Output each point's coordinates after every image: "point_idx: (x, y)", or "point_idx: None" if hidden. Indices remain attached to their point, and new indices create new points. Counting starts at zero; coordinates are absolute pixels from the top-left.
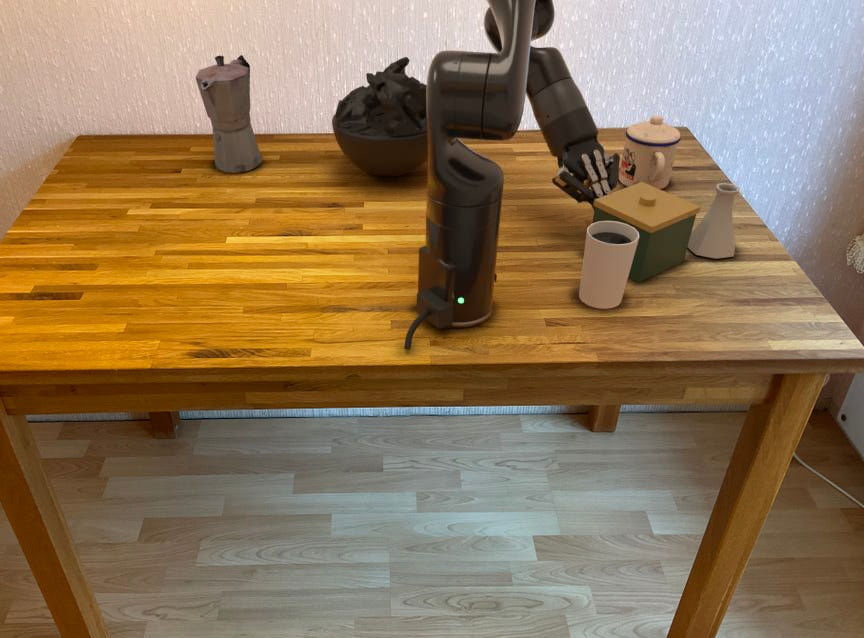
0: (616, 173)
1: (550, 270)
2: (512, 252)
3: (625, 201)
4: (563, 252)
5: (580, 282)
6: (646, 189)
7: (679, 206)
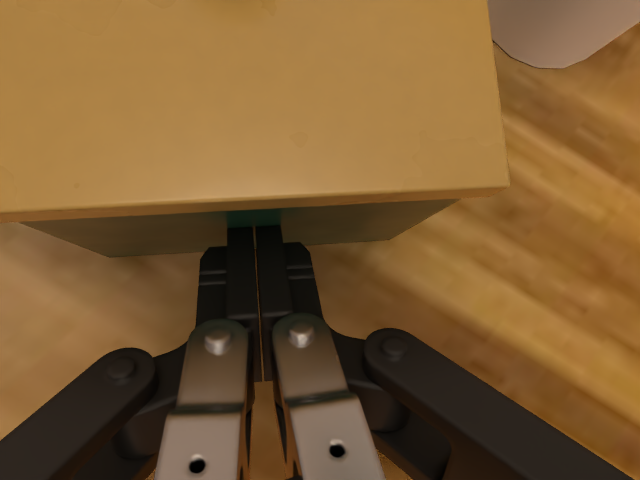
0: (20, 443)
1: (581, 224)
2: (630, 413)
3: (348, 41)
4: (455, 304)
5: (616, 37)
6: (51, 90)
7: None
